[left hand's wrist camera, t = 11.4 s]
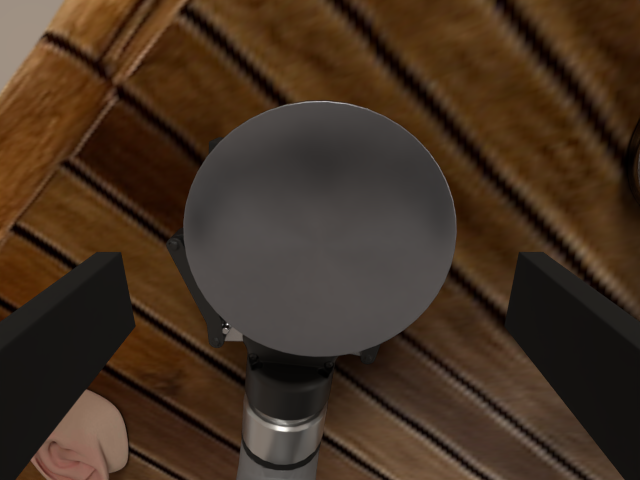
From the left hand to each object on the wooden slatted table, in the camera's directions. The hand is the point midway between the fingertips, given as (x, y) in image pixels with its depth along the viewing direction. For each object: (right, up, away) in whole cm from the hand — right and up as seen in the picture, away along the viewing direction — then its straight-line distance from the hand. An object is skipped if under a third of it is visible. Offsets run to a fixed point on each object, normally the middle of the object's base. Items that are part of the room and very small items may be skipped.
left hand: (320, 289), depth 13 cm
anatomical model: (-28, -20, +33) cm, 47 cm away
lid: (0, +2, +4) cm, 4 cm away
